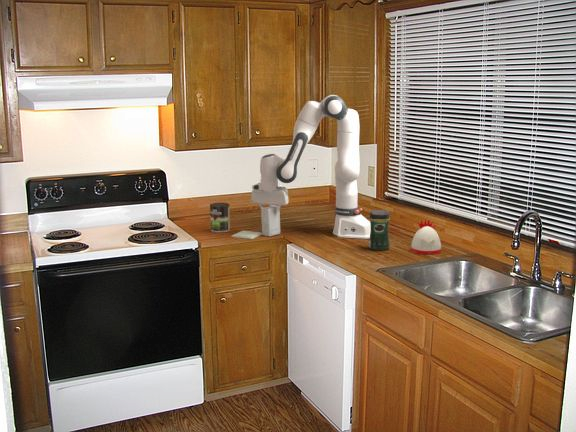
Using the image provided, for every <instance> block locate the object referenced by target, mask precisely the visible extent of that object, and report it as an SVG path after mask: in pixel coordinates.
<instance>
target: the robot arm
mask: <svg viewBox="0 0 576 432" xmlns="http://www.w3.org/2000/svg"><path fill="white" fill-rule="evenodd" d="M325 117H328V118H331V119H334V120H336V121H337V131H336V133H337V135H336V140H337V141H336V149H337V150H336V151H337V161H336V163H335V165H334V178H335V179H334V181H335V182H334V183H335V206H334V208H335V209H334V216H335V220H334V221H335V222H334V226H333V231H332V234H333V235H334V236H337V237H338V238H347V239H348V238H350V239H362V240H364V239H366V240H367V239H370V230H371V223H370V220H369V219H367V217H364V216H363V215H362V210H363V208H362V207H361V208H360V207H359V205H358V201H359V200H358V199H359V198H358V197H359V196H358V194H359V193H358V192H359V190H358V183H357V182H358V181H357V179H358V178H359V176H360V172H361V170H360V169H361V166H360V118H359V117H360V116H359V113H358V111H357V110H355V109H352V108H348V107H347V105H346V103H345V101H344V100H343V98H342V97H340V96H339V95H336V94H330V95H327V96H325V97H323V98H322V99H321V100H320V101H319V102H318V101H315V100H308V101H307V102H306V103H305V104H304V106H303V107H302V109H301V110H300V112H299V114H298V116H297V119H296V120H295V124H294V127H293V131H292V133H293V135H292V142H291V146H290V149H289V150H288V153H287V155H286V158H283V157H280V156H279V155H277V154H275V153H267V154H265V155H263V156H261V158H260V163H259V172H260V182H259V183H255V184H254V185H252V186H251V189H252V190H251V193H250V194H251V196H250V198H251V199H250V200H251V202H252V204H258V206H259V208H260V209H261V208H262V207H264V205H275V206H277V207H278V208H277V209H276V210H275V213H279V210H280V209H281V207H282V206H286V205H288V204H289V195H288V194H289V190H288V188H287V187H286V186H279V182H280V183H283V184H289V183H292V182H294V181H295V180H296V178H297V175H298V165H299V161H300V160H301V157H302V155H303V152H304V150H305V148H306V146H307V145H308V143H309V142H310V141H311V139H312V138H313V136H314V135H315V132H316V131H317V129H318V127H319V125H320V122H321V121H322V119H323V118H325Z"/></svg>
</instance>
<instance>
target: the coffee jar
mask: <svg viewBox="0 0 576 432" xmlns="http://www.w3.org/2000/svg"><path fill="white" fill-rule="evenodd" d="M390 217H391V216H390V212H389V210H387V209H384V210H383V209H371V210H370V212H369V218H368V221H370V223H371V230H370V238H369V241H368V242H369V243H368V247H369V248H368V249H371V250H372V251H373V250H375V251H385V250H388V249H390V236H389V235H390V234H389V223H390V221H391V219H390Z"/></svg>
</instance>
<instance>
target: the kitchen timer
mask: <svg viewBox="0 0 576 432" xmlns="http://www.w3.org/2000/svg"><path fill="white" fill-rule="evenodd" d="M433 223H434V221H431V222H430V219H426V218H425V219H424V222H423V220H422V219H420V222H419V221H418V222H417V224H418V227H419V229H418V230H417V231H416V233H415V234H413V238H412V241H411V245H410V251H411V252H412V253H415V254H419V255H436V254H440V253H442V243H441V240H440V236H439V235H438V233H437V230H435V227H436V223H435V224H434V225H433Z"/></svg>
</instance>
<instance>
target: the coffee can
mask: <svg viewBox="0 0 576 432" xmlns="http://www.w3.org/2000/svg"><path fill="white" fill-rule="evenodd" d="M209 209H210V231H211V232H212V233H226V232H230V230H231V229H230V225H231V224H230V203H228V202H214V203H210V204H209Z"/></svg>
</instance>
